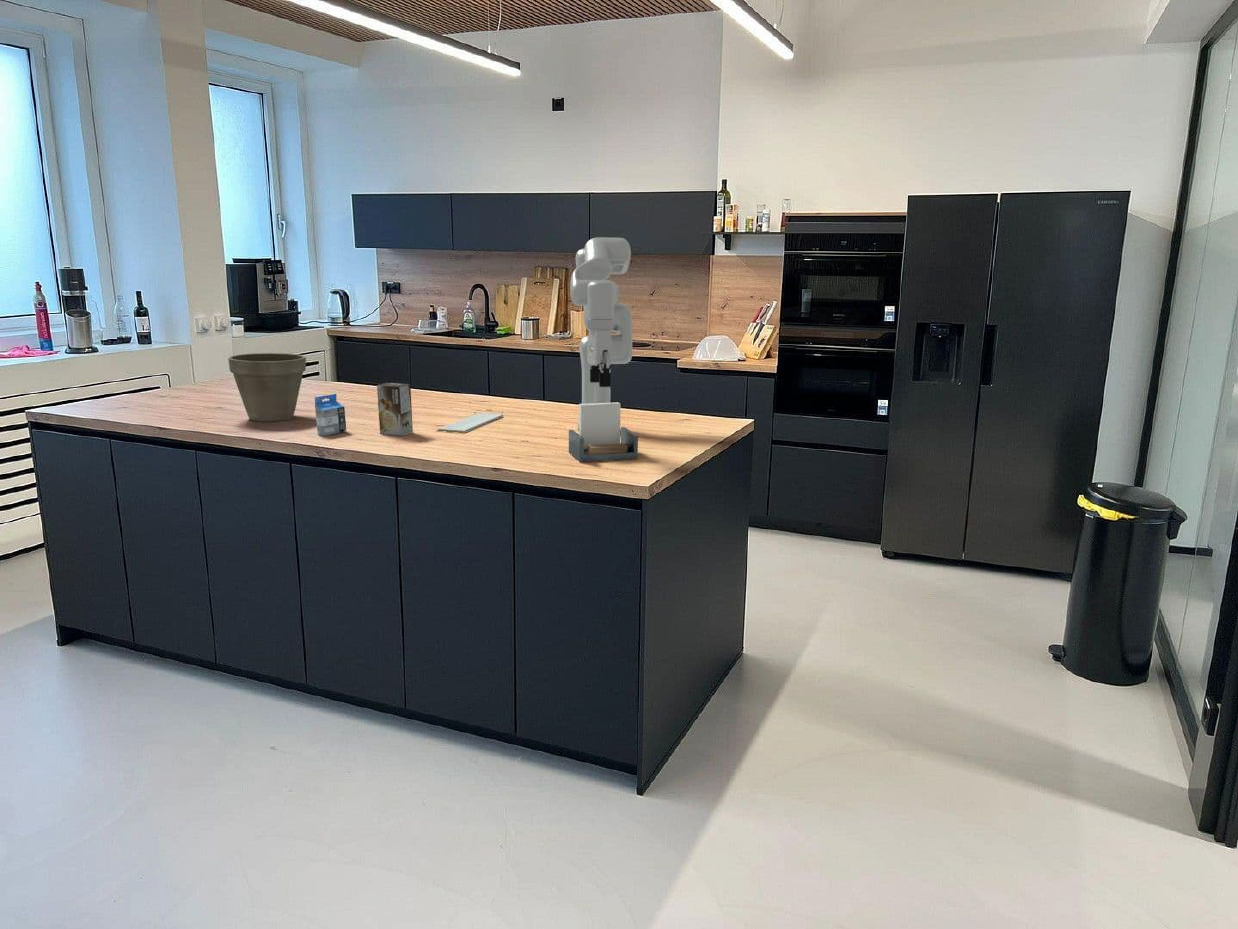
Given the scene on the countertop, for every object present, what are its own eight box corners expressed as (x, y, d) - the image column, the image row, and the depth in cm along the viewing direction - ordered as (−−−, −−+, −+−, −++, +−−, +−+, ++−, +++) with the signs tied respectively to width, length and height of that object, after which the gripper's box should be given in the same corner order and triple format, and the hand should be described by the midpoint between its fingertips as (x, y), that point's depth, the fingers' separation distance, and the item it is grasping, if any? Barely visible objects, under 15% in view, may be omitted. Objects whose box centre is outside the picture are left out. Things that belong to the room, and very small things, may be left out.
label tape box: (325, 436, 276) (322, 398, 273) (316, 434, 278) (313, 397, 275) (346, 431, 284) (344, 394, 281) (338, 430, 286) (335, 393, 283)
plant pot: (323, 413, 314) (319, 353, 309) (286, 426, 291) (281, 361, 286) (260, 410, 319) (254, 351, 313) (218, 422, 295) (212, 359, 290)
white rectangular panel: (578, 453, 258) (578, 403, 254) (617, 451, 261) (618, 402, 257) (581, 455, 255) (581, 405, 252) (619, 453, 259) (620, 403, 255)
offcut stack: (581, 458, 253) (581, 445, 252) (623, 456, 257) (623, 442, 256) (585, 461, 249) (585, 448, 248) (628, 459, 253) (628, 446, 252)
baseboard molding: (431, 432, 287) (464, 435, 284) (430, 424, 287) (463, 426, 283) (473, 416, 316) (503, 418, 313) (472, 408, 315) (503, 410, 312)
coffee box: (414, 432, 284) (411, 383, 280) (402, 436, 278) (400, 386, 274) (390, 430, 287) (388, 382, 283) (378, 433, 281) (375, 384, 277)
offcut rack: (568, 452, 258) (568, 429, 256) (624, 449, 263) (624, 427, 262) (579, 462, 247) (579, 438, 245) (637, 459, 252) (638, 435, 250)
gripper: (580, 323, 256) (579, 381, 260) (596, 327, 240) (595, 389, 244) (604, 323, 258) (603, 380, 262) (622, 327, 242) (621, 388, 246)
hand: (600, 384), depth 253 cm, fingers open, 9 cm apart
